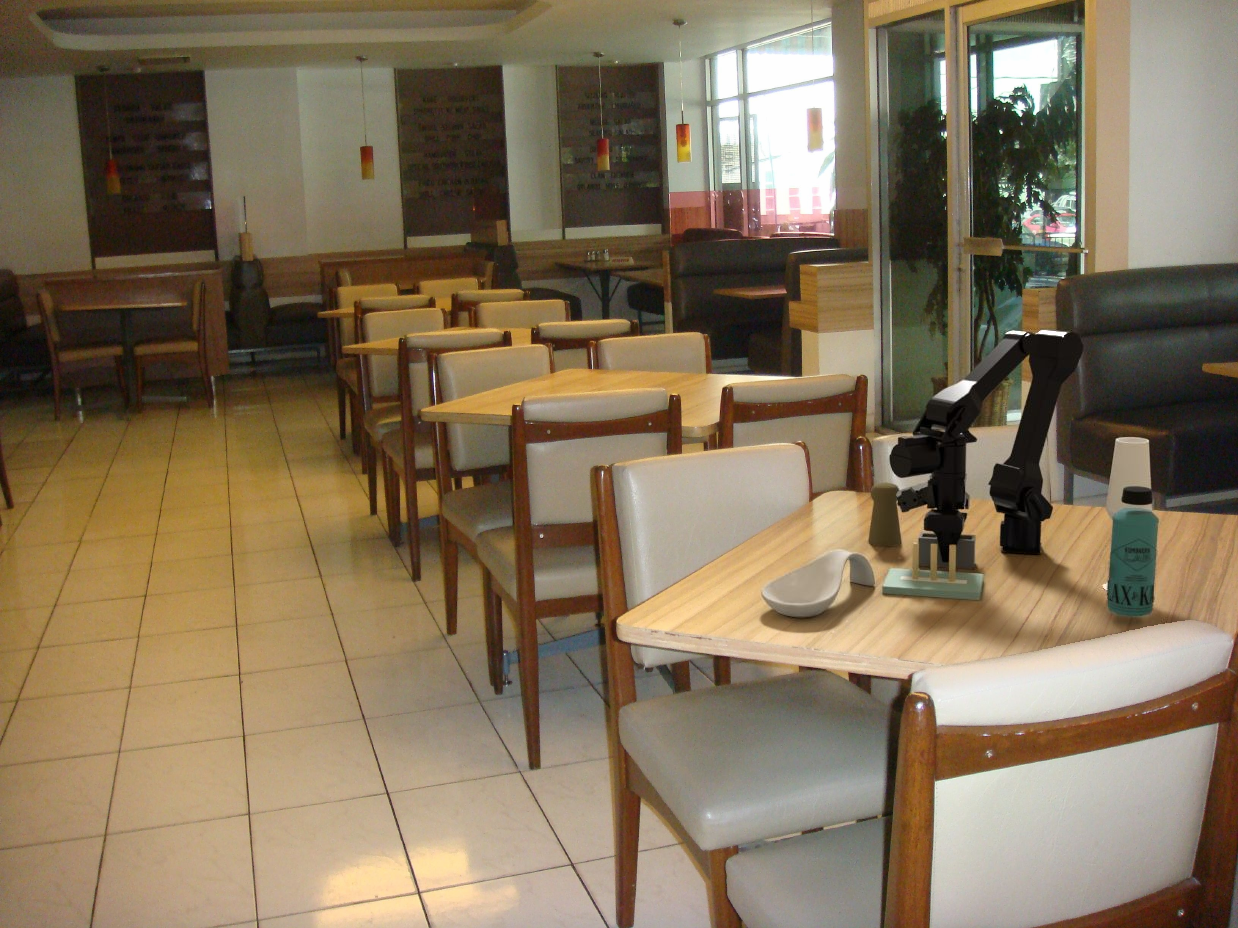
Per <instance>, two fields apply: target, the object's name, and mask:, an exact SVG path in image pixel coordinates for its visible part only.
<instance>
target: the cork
mask: <svg viewBox="0 0 1238 928" xmlns="http://www.w3.org/2000/svg"><path fill="white" fill-rule="evenodd" d="M899 490H900V488H899V486H898V485H897V484H895V483H892V482H878V483H876V484H873V486H872V487H871V489H870V497H871V500H872V501H873V504H872V511H871V512H872V513H871V519H870V525H869V533H868V538H867V539H868V540H867V543H869V544H870V545H873V546H876V547H877V546H878V547H894V546H897V545H898V546H899V545H901V544H902V542H903V541H902V534H901V533H902V532H901V526H900V518H899V511H898V510H899V509H898V505H897V502H898V501H897V498H896V494H897V492H898V491H899Z"/></svg>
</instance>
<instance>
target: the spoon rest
mask: <svg viewBox="0 0 1238 928" xmlns="http://www.w3.org/2000/svg"><path fill="white" fill-rule="evenodd" d="M847 561H848V562H849V581H850V582H852V583H854V584H858V585H863V586H867V587H872V586H875V585H876V580H875V579H876V578H875V575H874V571H873V567H872V565H871V563H870V562H869V560H868V559H867V557H865V556H864V555H863V554H862V553H859V552H850V551H848V550H846V549H832V550H831V551H828V552H826V553H824V554H823V555H821V556H818V557H817V558H815V559H813V560H811V561H810V562H808V563H806V564H804V565H802V566H800V567H798V568H795V569H794V570H792V571H789V572H787V573H785V574H783V575H781V576H779V577H776V578H774V579H773V580H771V581H769V582H767V583H766V584H765V585H764V586H763V587H762V589H761V591H760V592H761V593H760V594H761V597H762V599H763V601H764V602H765V604H767V605H768V606H769V607H770V608H771V609H772V610H774V611H775V612H777V613H779V614H781V615H784V616H787V617H792V618H800V617H803V618H812V617H816V616H819V615H820V614H822V613H823V612H824V611H826V610H827V609H829V608H830V607H831V605H832V604H833V603H834V602H835V600H836V598H837V596H838V594H839V591H840V589H841V585H842V580H843V575H844V569H845V567H846V564H847Z"/></svg>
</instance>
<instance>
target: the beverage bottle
mask: <svg viewBox="0 0 1238 928" xmlns="http://www.w3.org/2000/svg"><path fill="white" fill-rule="evenodd" d="M1152 490H1153V489H1152V488H1151V489H1150V488H1147V487H1141V486H1129V487H1125V488H1123V494H1122V499H1121V501H1122V502H1123V503H1126V504H1131V505H1149V504H1152V505H1153V491H1152ZM1111 520H1112V528H1111V529H1112V530H1111V540H1110V541H1111V544H1110V553H1109V555H1108V558H1109V563H1108V568H1107V570H1108V575H1107V576H1108V577H1107V578H1108V579H1107V582H1106V583H1107V591H1106V596H1107V597H1106V602H1105V603H1106V605H1107V609H1108V611H1109V612H1111V613H1114V614H1115V615H1120V616H1125V617H1146V616H1148V615H1150V614H1152V611H1153V609H1154V604H1155V587H1156V585H1157V584H1156V582H1155V581H1156V578H1157V573H1156V571H1157V570H1158V569H1157V556H1158V549H1157V548H1158V535H1159V534H1158V533H1159V532H1158V530H1159V524H1160V519H1159V517H1158V516H1157V515H1156V514H1155V513H1154V512H1153V510H1152V511H1150V510H1148V509H1143V508H1123V509H1121V510H1119V511H1118V512H1117V513H1115V514H1114V515H1113V517H1112V519H1111Z"/></svg>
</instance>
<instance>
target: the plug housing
mask: <svg viewBox="0 0 1238 928" xmlns="http://www.w3.org/2000/svg"><path fill="white" fill-rule="evenodd" d="M976 540H977V539H976V534H963V533H961V536H960V538H959V540H958V543H957V545H956V567H955V569H962V570H963V569H964V570H974V569H975V565H976ZM917 541H918V542H917V543H919V567H929V568H931V544H937V568H946V569H947V568H948V569H949V562H942V558H941V554H940V549H939V545H938V540H937V536H936V534H935V533H934V532H923V531H921V532H920V533H919V535H918V540H917Z"/></svg>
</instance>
